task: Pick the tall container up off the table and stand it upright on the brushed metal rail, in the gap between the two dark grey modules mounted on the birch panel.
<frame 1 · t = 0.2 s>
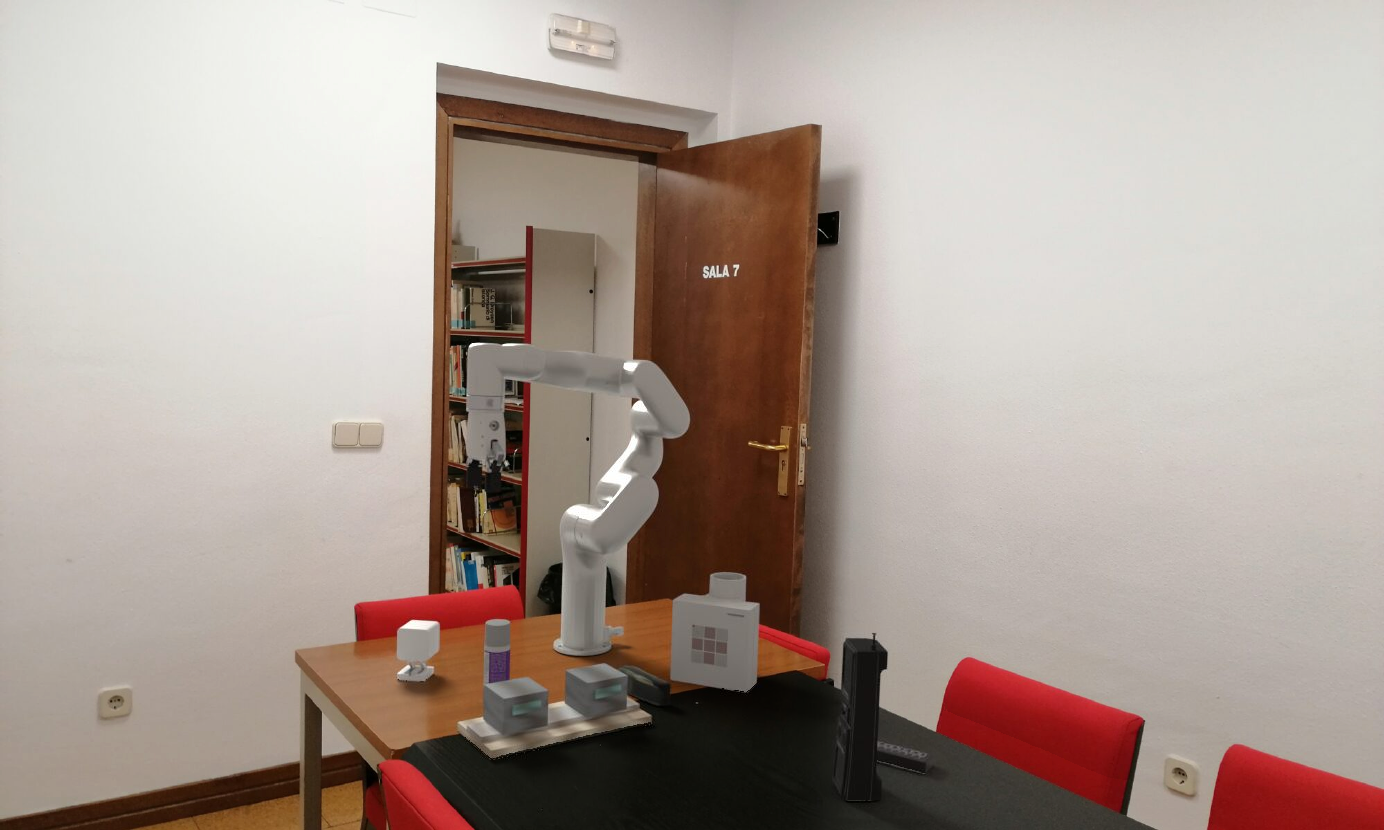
hand: (483, 488, 198), 36 cm above the table, tool pointing down, fingers open, 9 cm apart
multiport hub: (885, 762, 160), on the table
white square bottle: (723, 674, 201), on the table
portable radio: (854, 791, 147), on the table
container: (496, 703, 179), on the table
mobile phone: (639, 698, 185), on the table
security camera: (417, 676, 193), on the table
rail panel: (556, 727, 168), on the table
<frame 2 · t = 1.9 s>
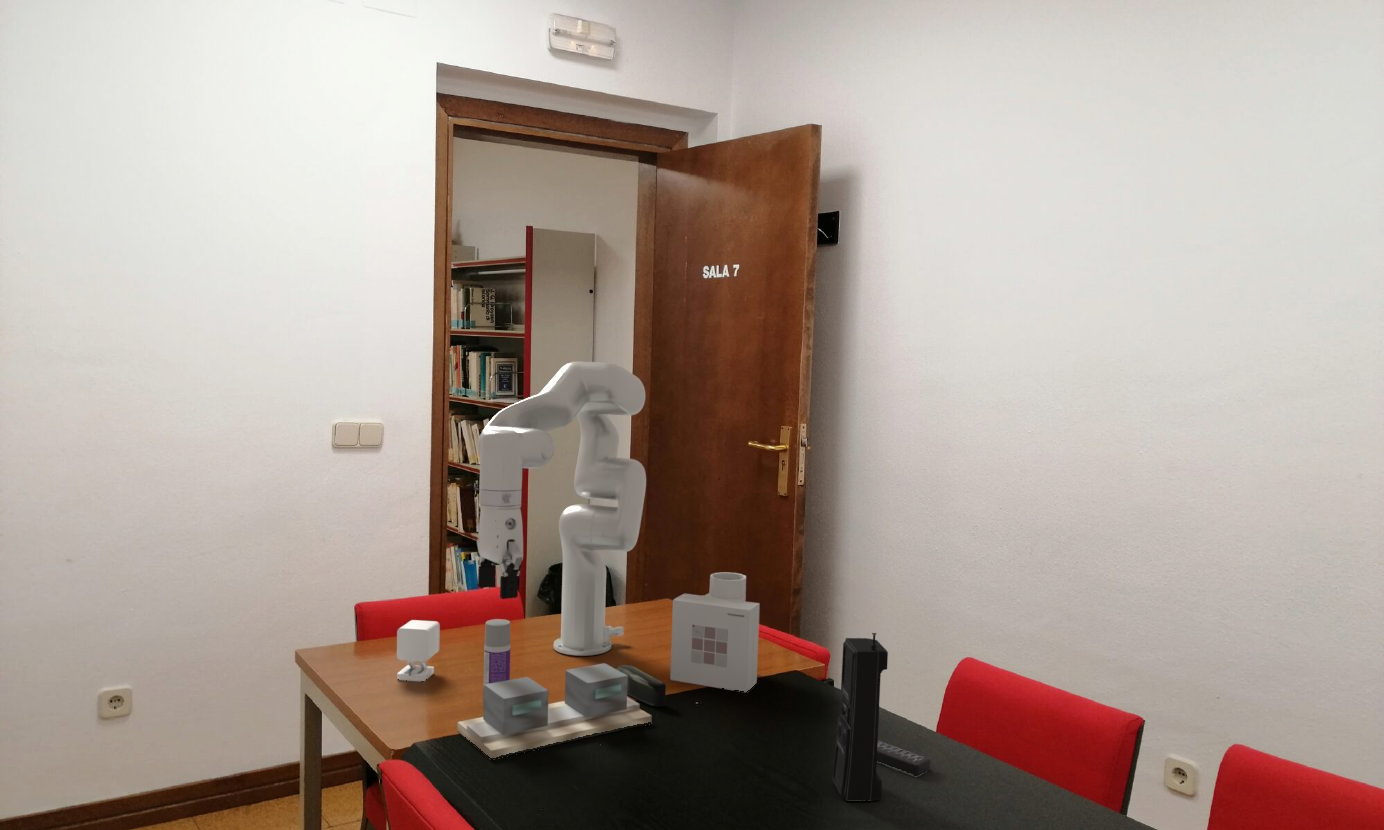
hand: (497, 592, 178), 21 cm above the table, tool pointing down, fingers open, 9 cm apart
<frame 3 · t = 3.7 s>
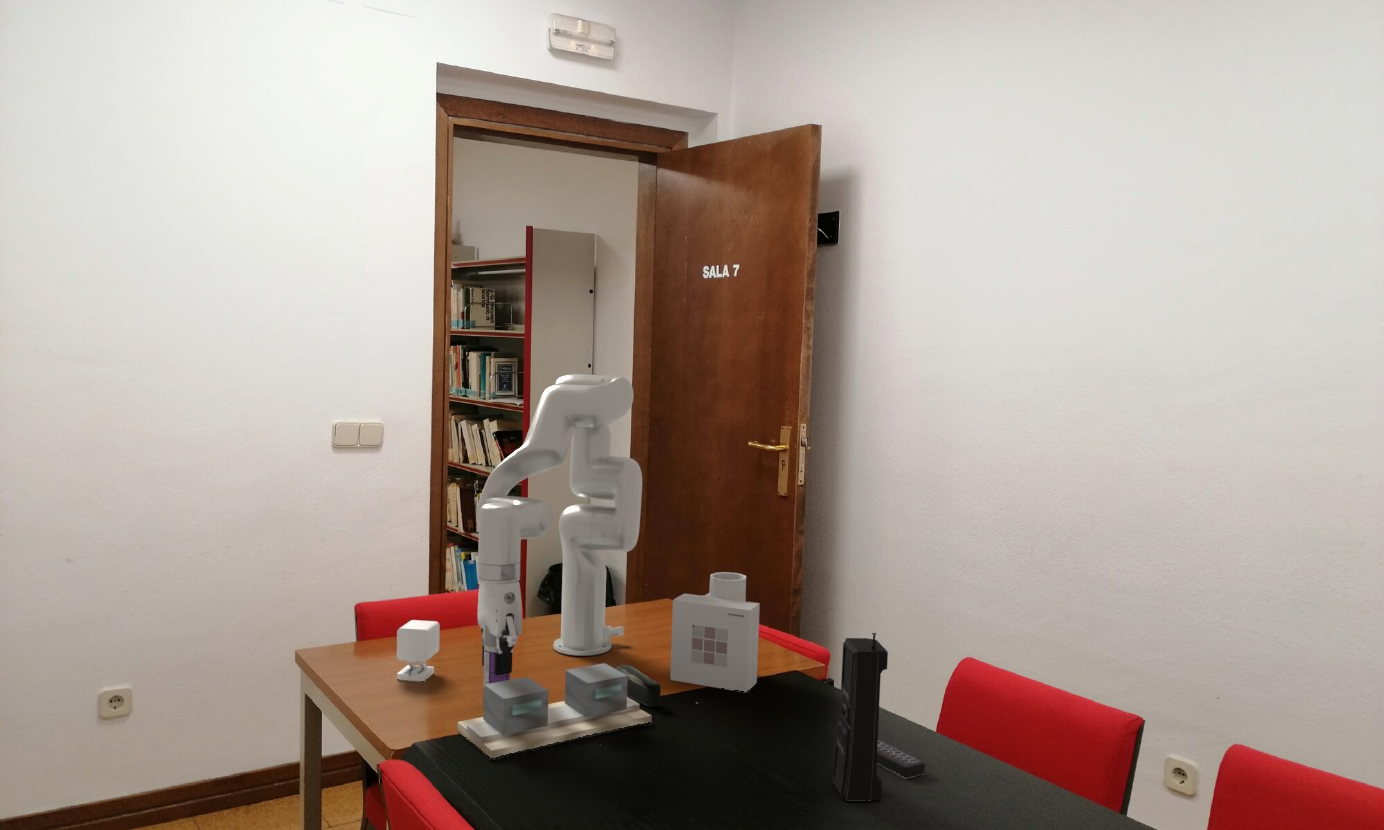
hand: (496, 668, 179), 6 cm above the table, tool pointing down, fingers closed on container, 4 cm apart
container: (496, 703, 179), on the table, touching gripper
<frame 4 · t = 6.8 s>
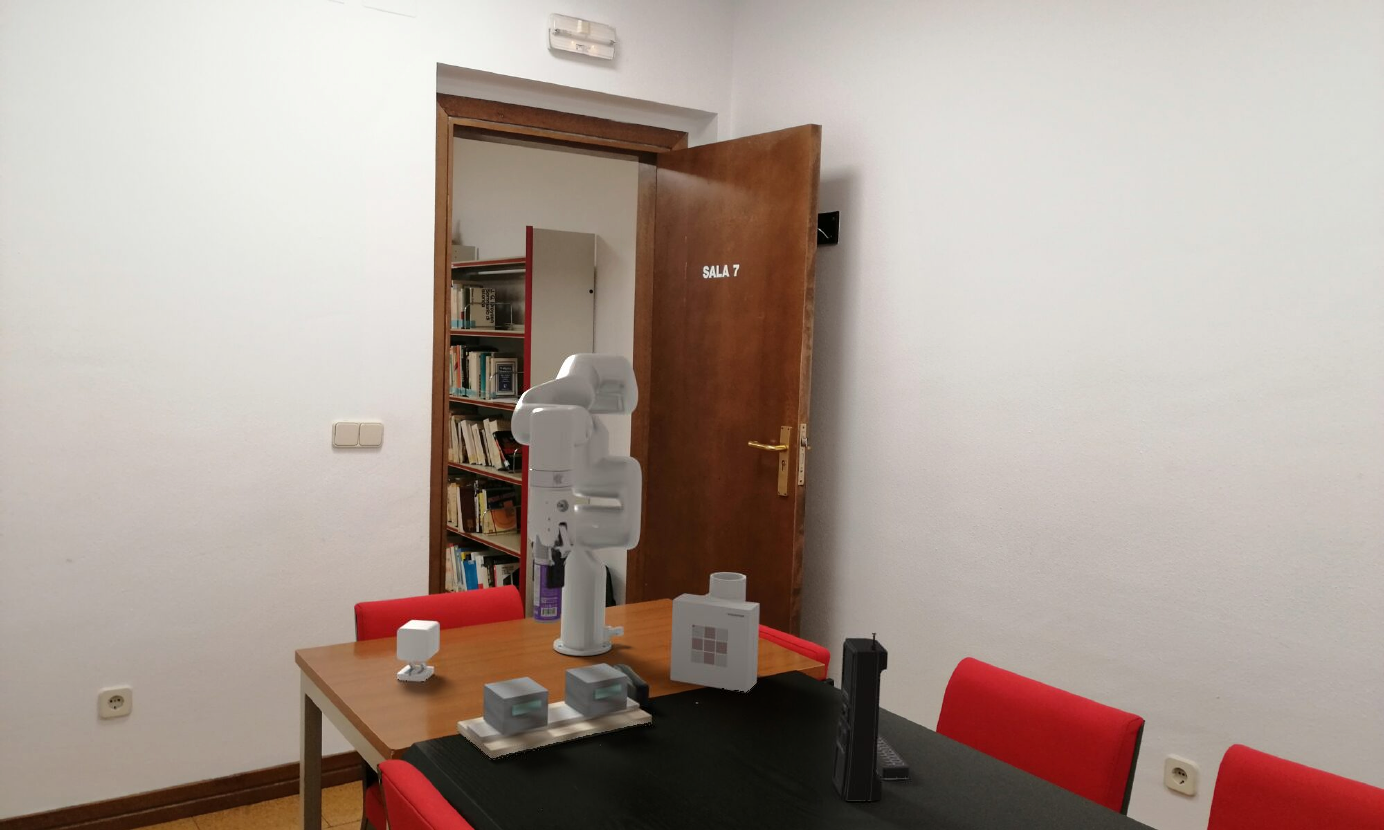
hand: (548, 583, 169), 25 cm above the table, tool pointing down, fingers closed on container, 4 cm apart
container: (546, 620, 169), point 18 cm above the table, touching gripper
mobile phone: (627, 697, 185), on the table
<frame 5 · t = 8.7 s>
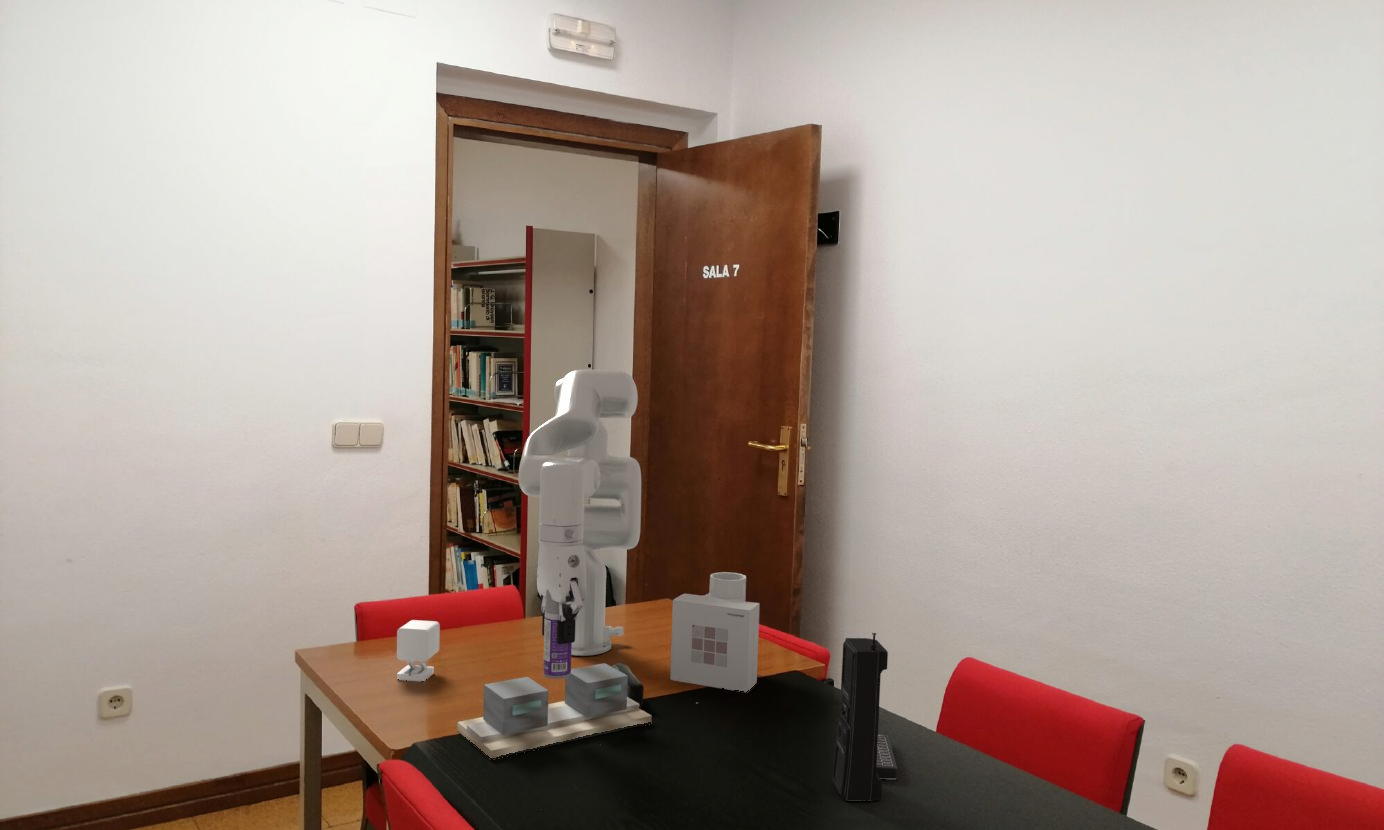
hand: (558, 637, 167), 16 cm above the table, tool pointing down, fingers closed on container, 4 cm apart
container: (557, 675, 168), point 9 cm above the table, touching gripper
when the fingers open (10 cm above the table, at t = 10.1 s): container drops 1 cm, resting on rail panel.
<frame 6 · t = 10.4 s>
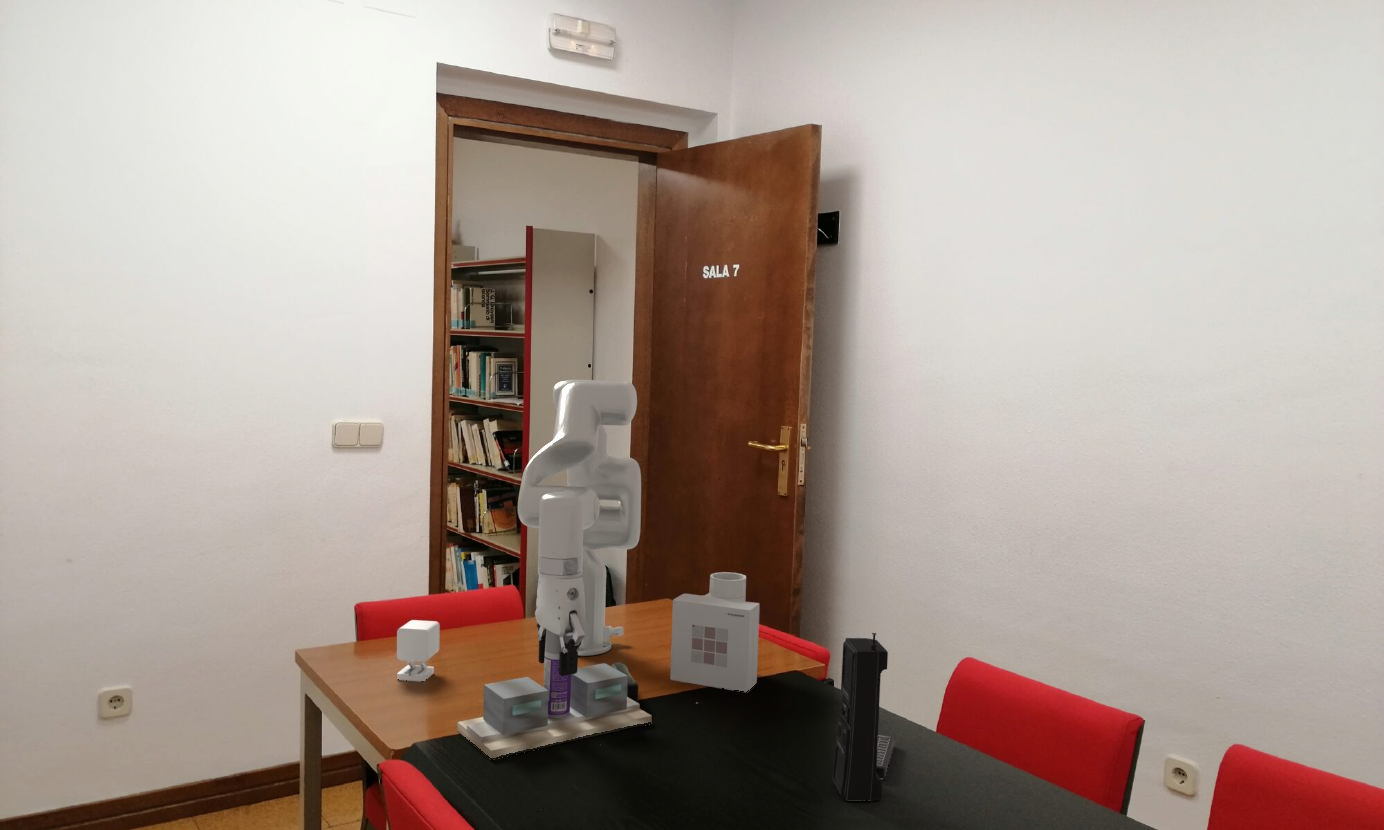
hand: (557, 667, 168), 11 cm above the table, tool pointing down, fingers open, 7 cm apart
container: (556, 714, 169), point 2 cm above the table, touching rail panel
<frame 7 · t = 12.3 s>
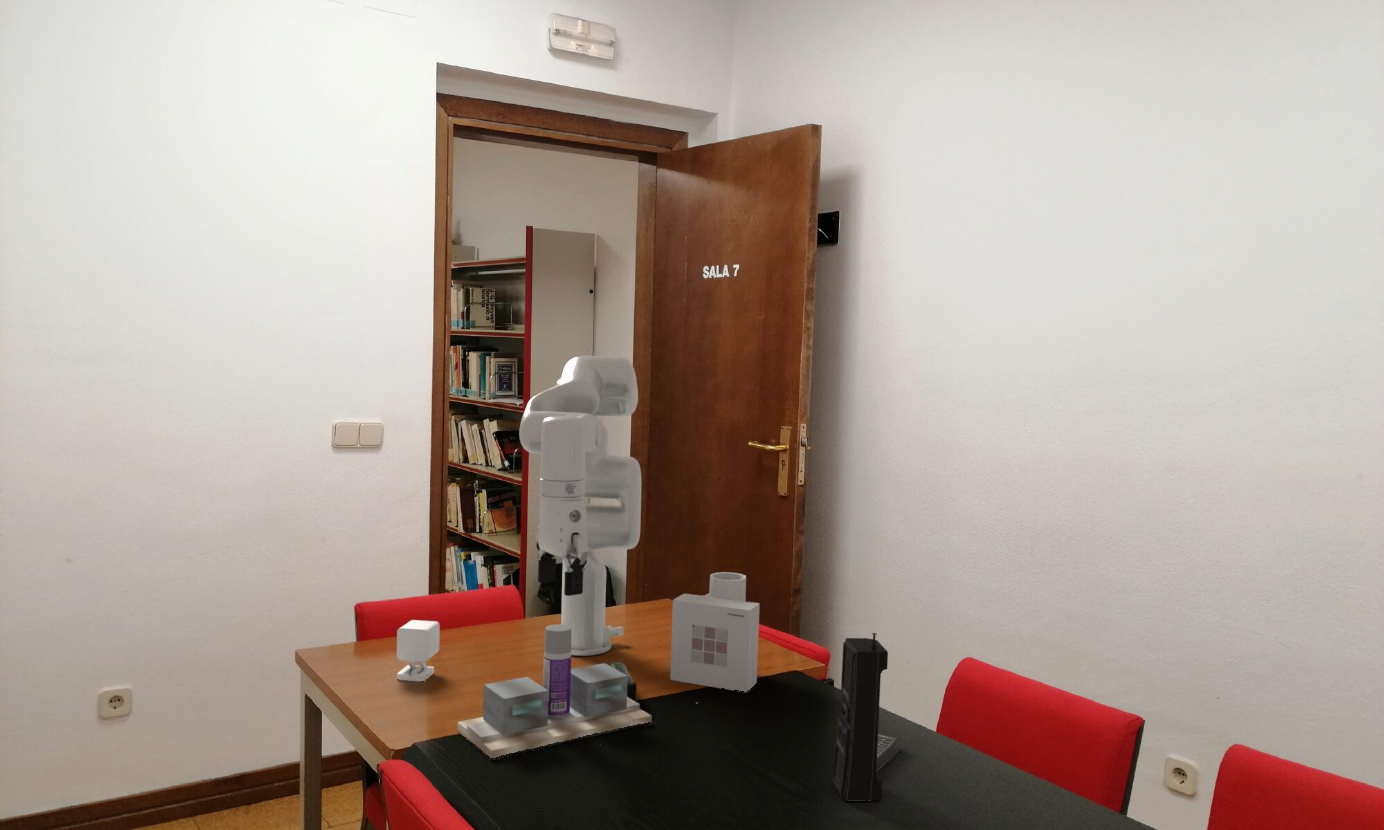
hand: (559, 587, 167), 24 cm above the table, tool pointing down, fingers open, 9 cm apart
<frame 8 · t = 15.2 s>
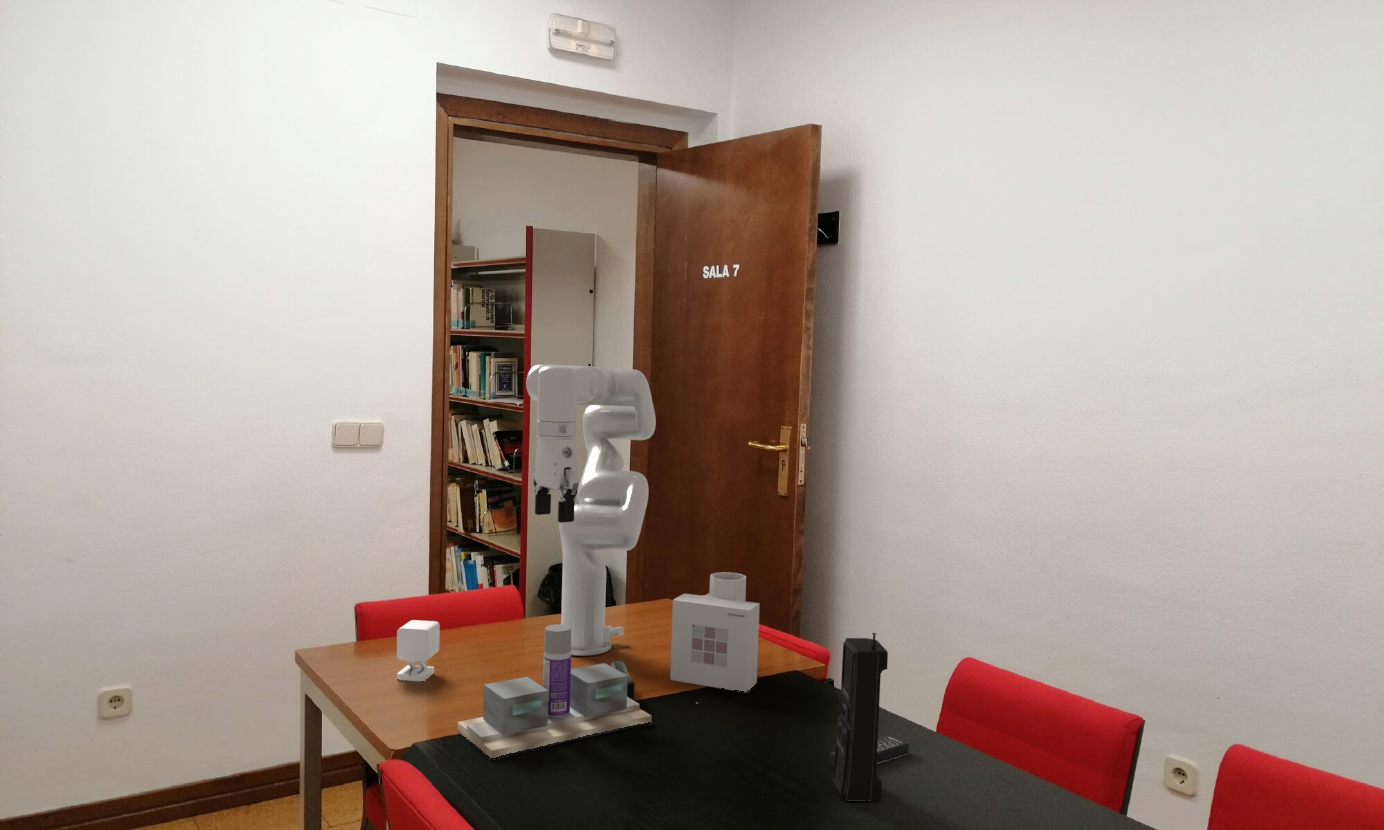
hand: (554, 517, 190), 32 cm above the table, tool pointing down, fingers open, 9 cm apart
at the end: container 0.2 cm off-centre on the rail panel, point 2.1 cm above the rail panel's base; container tilted 0°; the gripper is holding nothing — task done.
